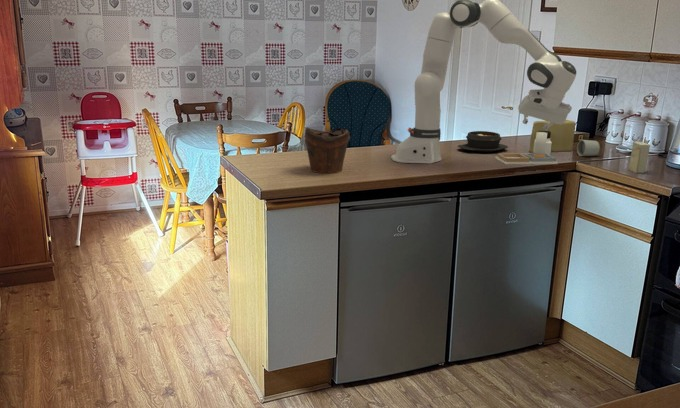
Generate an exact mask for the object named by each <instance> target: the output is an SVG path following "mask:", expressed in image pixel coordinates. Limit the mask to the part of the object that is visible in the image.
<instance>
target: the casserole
mask: <svg viewBox="0 0 680 408" xmlns="http://www.w3.org/2000/svg"><path fill="white" fill-rule="evenodd" d="M465 139H467V141H466V142H467V143H463V144H458V145H457V147H458V148H460V149H463V150H466V151H473V152H477V153H494V152H496V151H500V150H505V149H508V148H509V146H507V145H505V144H503V143H500V142H501V141H502V137H501V134H500V133H498V132H493V131H489V130H488V131H487V130H476V131H475V130H474V131H473V130H472V131H469V132H468V133H467V135H466V136H465Z"/></svg>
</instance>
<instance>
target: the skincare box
mask: <svg viewBox="0 0 680 408" xmlns="http://www.w3.org/2000/svg"><path fill="white" fill-rule="evenodd" d="M650 148H651V144H649V143H646V142H643V141H633V143H632V147H631V155H630V160H629V165H628V170H629V171H631V172H633V173H636V174H646V170H647V164H648V159H649V155H650Z"/></svg>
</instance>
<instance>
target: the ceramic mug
mask: <svg viewBox="0 0 680 408" xmlns="http://www.w3.org/2000/svg"><path fill="white" fill-rule="evenodd" d="M600 145H601V144H600V143H599V141H597V140H592V139H591V140H588V139H580V140H579V141H578V143H577V146H576V152H577V154H578V156H579V157H595V156H598V154H599V153H600V151H601V146H600Z"/></svg>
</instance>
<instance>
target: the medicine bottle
mask: <svg viewBox="0 0 680 408" xmlns="http://www.w3.org/2000/svg"><path fill="white" fill-rule="evenodd" d="M538 132H545V133H547V141H546V149H545V153H547V154H549V155H551V154H552V152H551V148H552V142H551V141H550V137H551V132H550V131H548V130H539V131H538ZM535 142H536V139H535V141H534V151H535ZM534 151H533V152H532V153H534ZM551 156H552V155H551Z"/></svg>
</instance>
